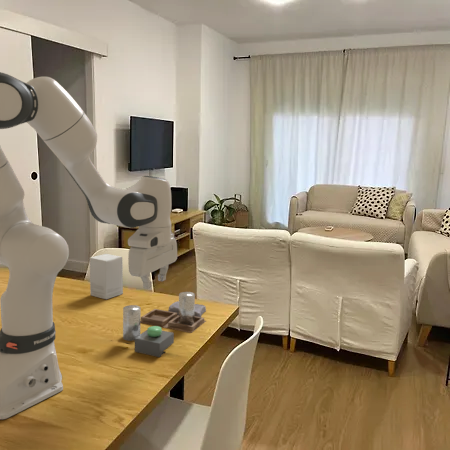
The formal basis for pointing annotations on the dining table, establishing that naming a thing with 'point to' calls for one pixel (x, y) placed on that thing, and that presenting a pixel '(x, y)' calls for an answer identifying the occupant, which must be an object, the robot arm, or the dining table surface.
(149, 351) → the console
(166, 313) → the brown wooden tray
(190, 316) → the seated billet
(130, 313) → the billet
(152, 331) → the button
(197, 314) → the stone block
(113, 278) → the supplement box
